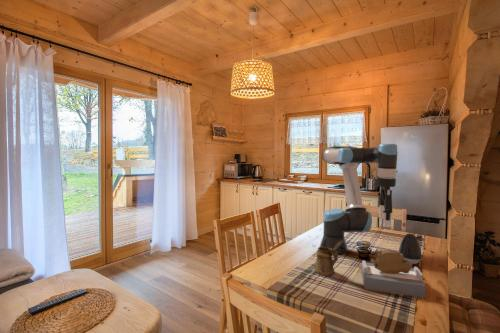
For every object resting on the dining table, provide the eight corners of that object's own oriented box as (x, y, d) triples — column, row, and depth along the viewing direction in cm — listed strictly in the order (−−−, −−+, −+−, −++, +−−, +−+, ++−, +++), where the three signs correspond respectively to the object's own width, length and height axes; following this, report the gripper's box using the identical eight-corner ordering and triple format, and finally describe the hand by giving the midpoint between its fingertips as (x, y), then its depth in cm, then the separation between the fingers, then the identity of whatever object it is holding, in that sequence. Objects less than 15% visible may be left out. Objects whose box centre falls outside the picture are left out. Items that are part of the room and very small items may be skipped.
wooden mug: (337, 281, 116) (337, 241, 115) (310, 271, 126) (311, 234, 125) (346, 274, 123) (347, 237, 122) (320, 265, 132) (320, 230, 131)
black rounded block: (425, 267, 130) (426, 237, 129) (402, 265, 132) (403, 236, 132) (416, 259, 140) (417, 231, 139) (395, 257, 142) (396, 230, 141)
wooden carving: (407, 271, 115) (408, 248, 114) (413, 276, 110) (413, 253, 110) (368, 269, 117) (369, 247, 116) (372, 274, 112) (372, 251, 112)
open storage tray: (364, 288, 110) (365, 271, 110) (361, 272, 125) (361, 257, 125) (425, 298, 103) (425, 279, 103) (413, 279, 118) (414, 263, 118)
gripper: (401, 181, 107) (399, 232, 109) (390, 174, 131) (388, 216, 133) (381, 180, 110) (379, 230, 112) (374, 174, 133) (372, 214, 135)
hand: (384, 222), depth 122 cm, fingers open, 13 cm apart
